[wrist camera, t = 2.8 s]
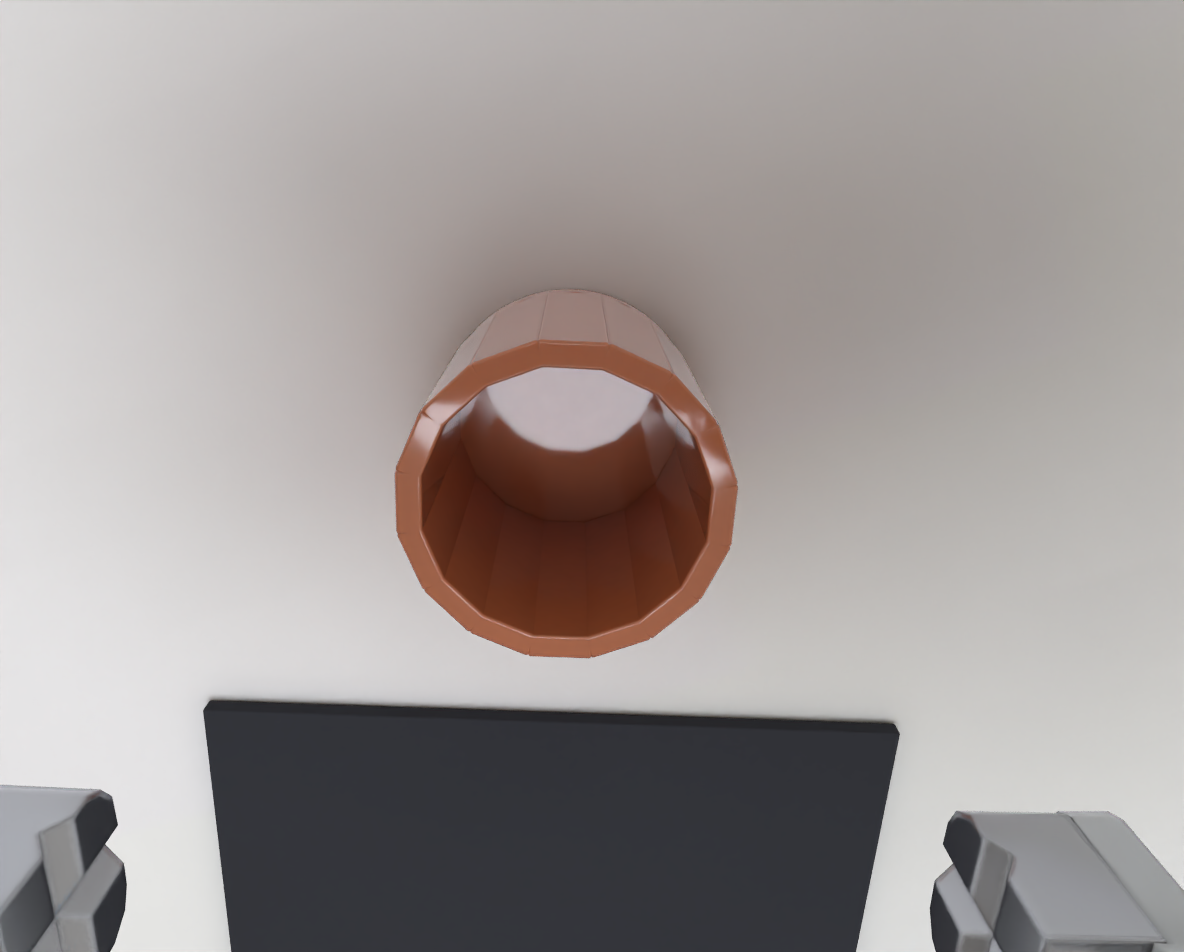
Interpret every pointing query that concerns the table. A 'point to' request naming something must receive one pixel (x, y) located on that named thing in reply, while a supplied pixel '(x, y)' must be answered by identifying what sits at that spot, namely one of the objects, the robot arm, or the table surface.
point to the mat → (542, 829)
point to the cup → (566, 480)
